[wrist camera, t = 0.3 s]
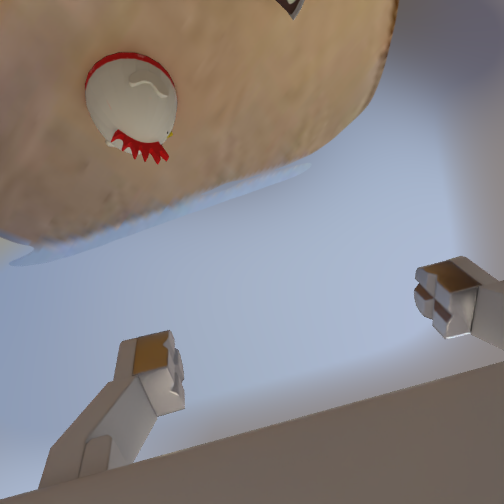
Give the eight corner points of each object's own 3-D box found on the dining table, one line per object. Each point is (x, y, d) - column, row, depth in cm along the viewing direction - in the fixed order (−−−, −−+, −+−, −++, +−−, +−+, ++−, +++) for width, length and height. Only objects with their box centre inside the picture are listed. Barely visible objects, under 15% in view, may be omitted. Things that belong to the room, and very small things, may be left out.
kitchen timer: (156, 140, 69) (168, 200, 61) (75, 115, 61) (76, 181, 54) (188, 74, 61) (206, 135, 53) (99, 35, 53) (104, 100, 45)
